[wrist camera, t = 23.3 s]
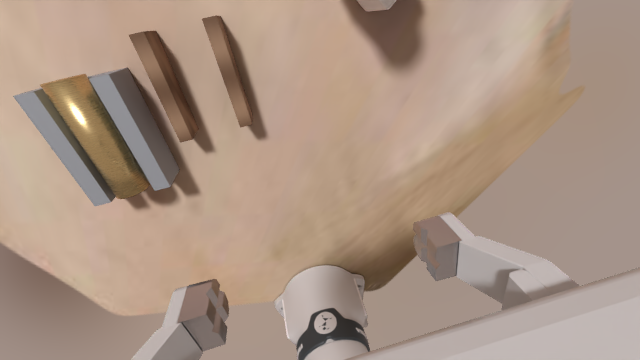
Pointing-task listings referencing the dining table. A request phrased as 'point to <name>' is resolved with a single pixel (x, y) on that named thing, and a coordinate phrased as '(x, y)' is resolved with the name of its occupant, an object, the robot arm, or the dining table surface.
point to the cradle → (128, 118)
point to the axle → (97, 134)
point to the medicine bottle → (376, 4)
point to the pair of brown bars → (170, 88)
